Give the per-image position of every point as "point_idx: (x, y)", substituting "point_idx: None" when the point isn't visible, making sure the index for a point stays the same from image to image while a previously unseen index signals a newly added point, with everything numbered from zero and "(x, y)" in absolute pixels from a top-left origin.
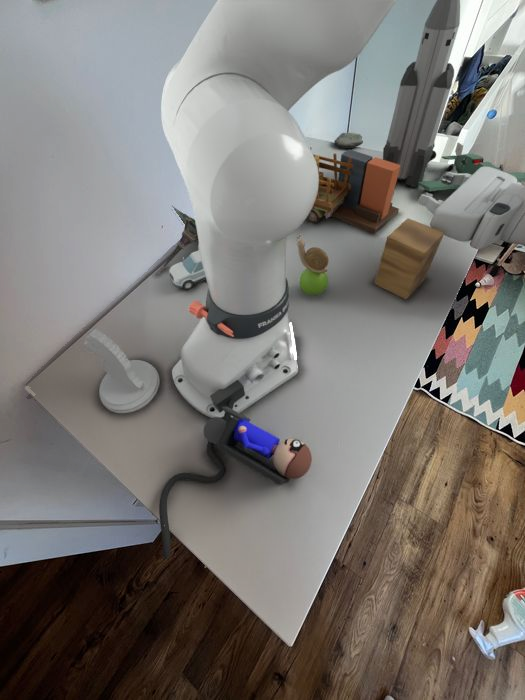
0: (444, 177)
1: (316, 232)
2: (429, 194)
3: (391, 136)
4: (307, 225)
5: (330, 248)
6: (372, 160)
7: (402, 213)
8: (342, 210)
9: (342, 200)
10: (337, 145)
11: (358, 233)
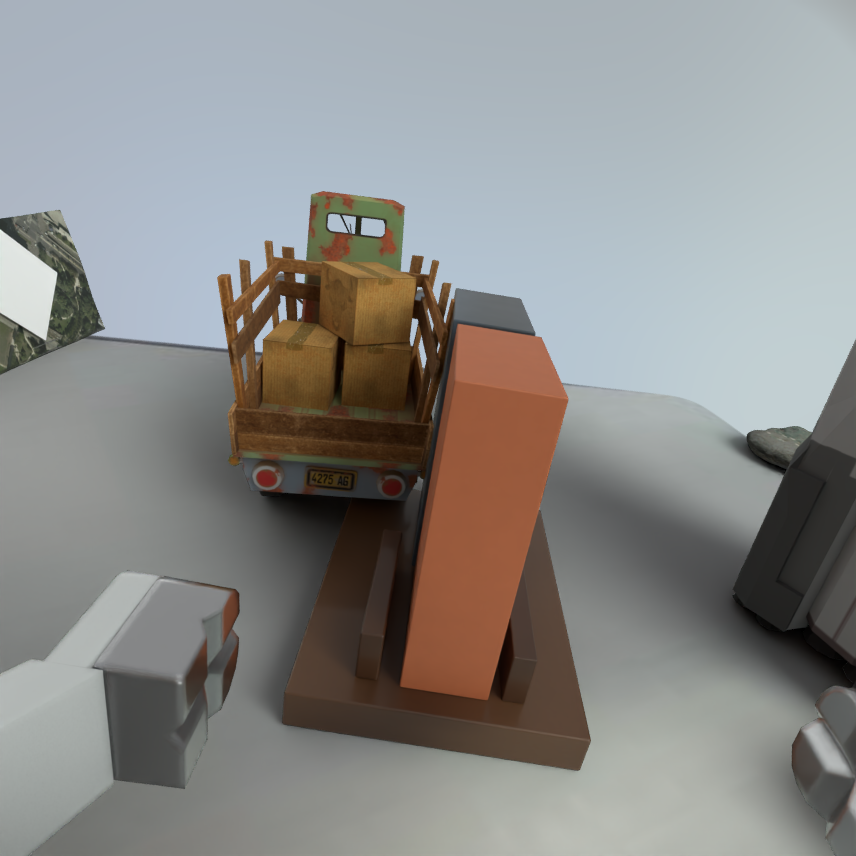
0: (831, 721)
1: (198, 515)
2: (169, 639)
3: (831, 393)
4: (238, 484)
5: (71, 584)
6: (496, 332)
7: (617, 798)
8: (373, 526)
9: (387, 482)
10: (748, 443)
11: (259, 648)
